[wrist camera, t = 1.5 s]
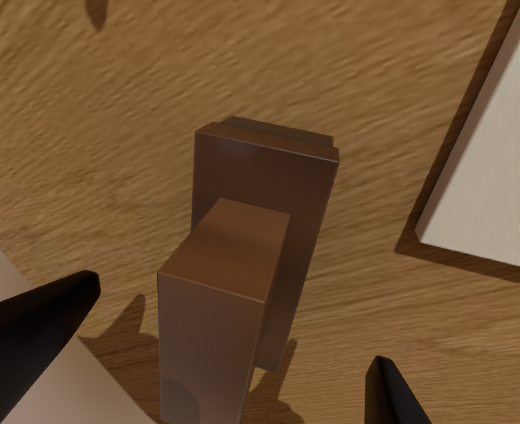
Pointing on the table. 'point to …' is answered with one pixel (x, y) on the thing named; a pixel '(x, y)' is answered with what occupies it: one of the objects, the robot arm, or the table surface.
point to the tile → (483, 170)
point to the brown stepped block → (239, 264)
